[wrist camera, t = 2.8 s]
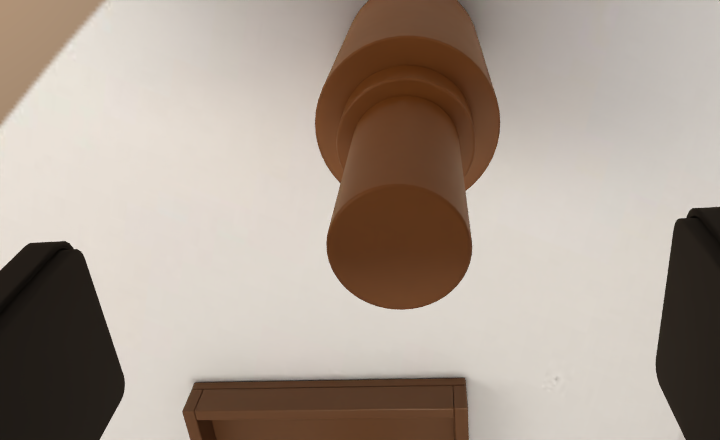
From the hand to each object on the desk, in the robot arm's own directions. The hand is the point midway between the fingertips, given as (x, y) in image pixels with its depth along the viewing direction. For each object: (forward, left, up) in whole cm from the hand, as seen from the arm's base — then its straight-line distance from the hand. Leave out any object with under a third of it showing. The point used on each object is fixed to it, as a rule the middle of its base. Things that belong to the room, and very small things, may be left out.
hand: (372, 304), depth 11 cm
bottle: (0, 0, -16) cm, 16 cm away
